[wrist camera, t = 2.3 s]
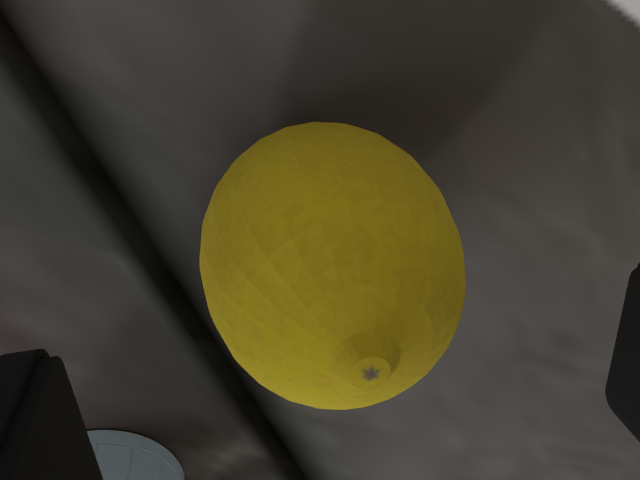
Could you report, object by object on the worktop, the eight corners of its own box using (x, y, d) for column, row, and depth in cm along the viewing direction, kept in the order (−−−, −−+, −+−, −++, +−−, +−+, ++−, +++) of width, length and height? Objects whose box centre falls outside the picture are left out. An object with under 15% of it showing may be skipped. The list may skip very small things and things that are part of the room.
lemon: (434, 144, 16) (602, 304, 9) (334, 294, 18) (410, 522, 11) (262, 45, 14) (308, 152, 7) (168, 224, 16) (133, 450, 9)
